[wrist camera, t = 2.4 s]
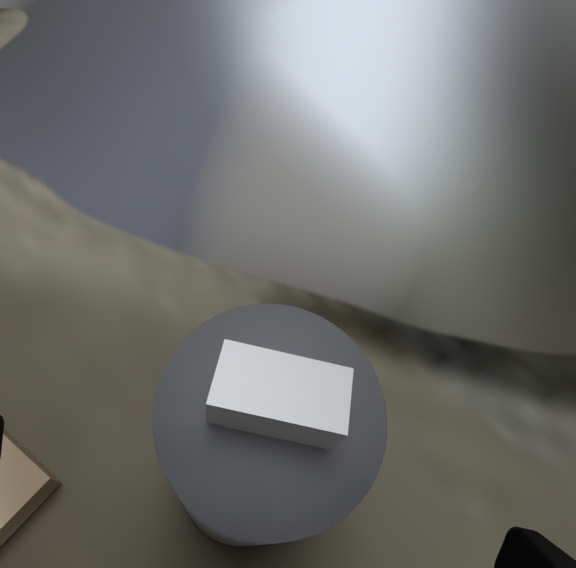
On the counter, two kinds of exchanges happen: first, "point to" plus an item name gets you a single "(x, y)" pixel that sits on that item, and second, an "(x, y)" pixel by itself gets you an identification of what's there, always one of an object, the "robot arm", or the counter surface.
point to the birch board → (20, 486)
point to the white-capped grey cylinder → (269, 425)
